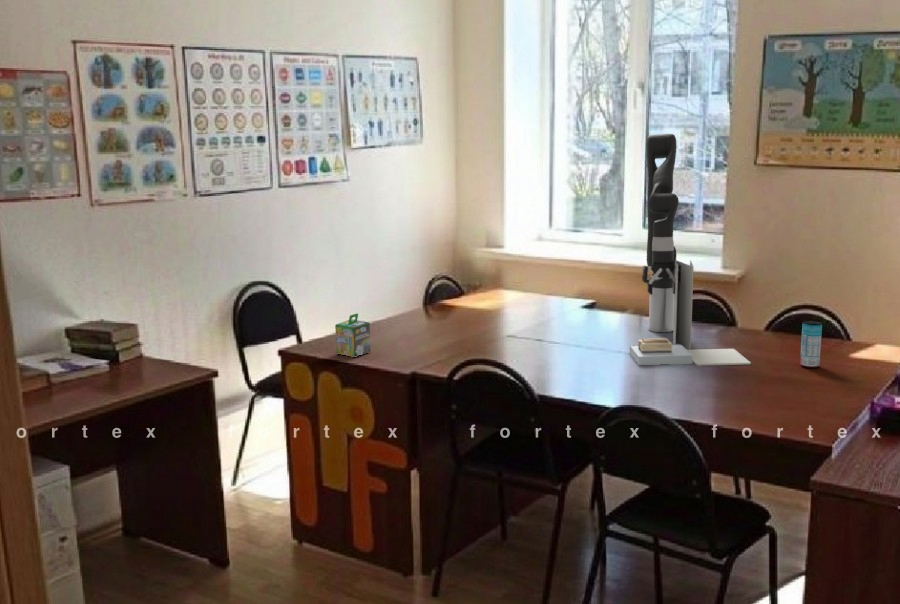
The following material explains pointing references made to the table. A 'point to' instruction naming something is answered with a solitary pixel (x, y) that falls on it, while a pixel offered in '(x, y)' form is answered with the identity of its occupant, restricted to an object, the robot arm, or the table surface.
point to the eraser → (655, 345)
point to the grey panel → (683, 305)
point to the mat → (717, 357)
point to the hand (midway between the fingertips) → (662, 293)
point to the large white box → (662, 356)
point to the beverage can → (811, 343)
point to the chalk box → (353, 337)
